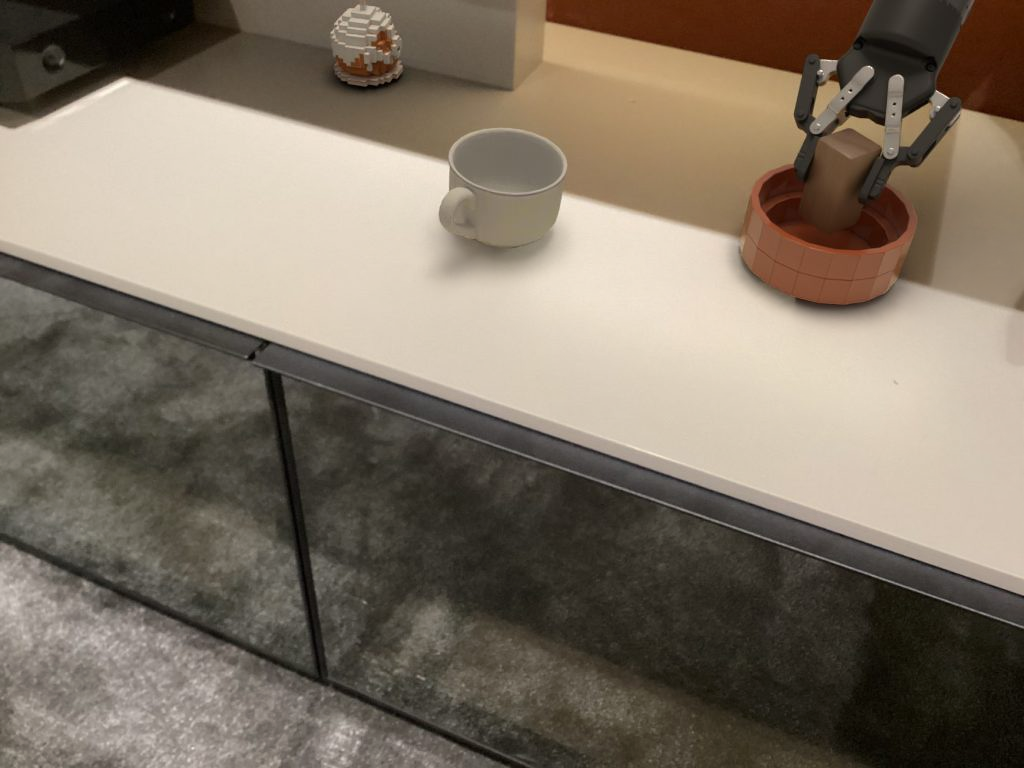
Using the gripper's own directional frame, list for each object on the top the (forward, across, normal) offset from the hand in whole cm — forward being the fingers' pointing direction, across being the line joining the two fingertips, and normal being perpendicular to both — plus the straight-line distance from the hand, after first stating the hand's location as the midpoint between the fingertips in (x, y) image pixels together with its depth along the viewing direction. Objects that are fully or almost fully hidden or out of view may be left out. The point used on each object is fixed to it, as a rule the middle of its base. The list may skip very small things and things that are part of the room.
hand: (831, 190), depth 83 cm
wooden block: (+2, 0, +4) cm, 5 cm away
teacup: (+15, -26, -3) cm, 31 cm away
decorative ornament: (+3, -57, +10) cm, 58 cm away
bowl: (+5, 0, +7) cm, 9 cm away
